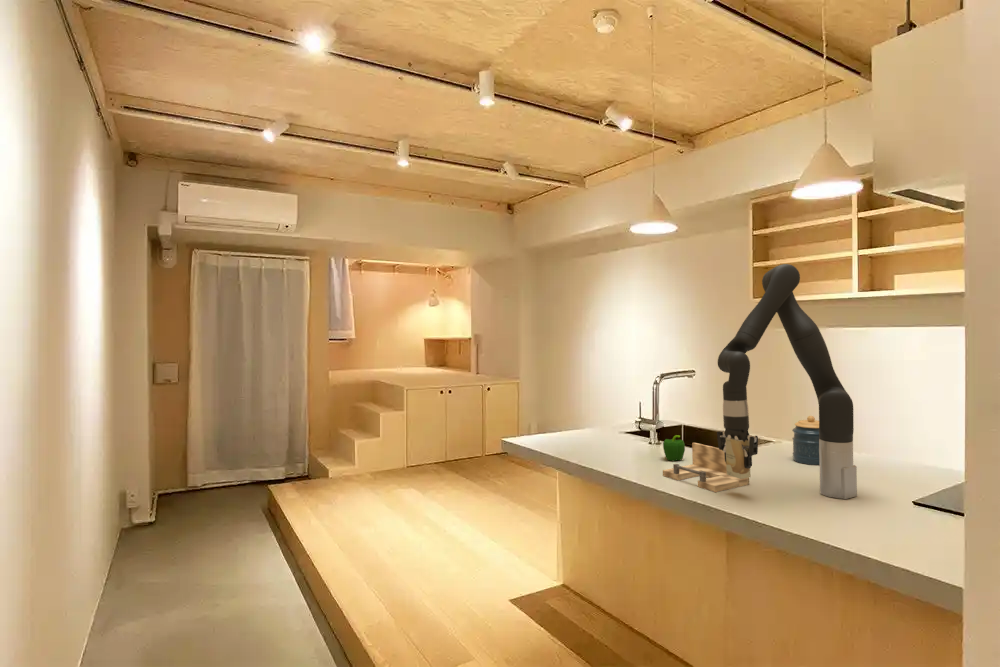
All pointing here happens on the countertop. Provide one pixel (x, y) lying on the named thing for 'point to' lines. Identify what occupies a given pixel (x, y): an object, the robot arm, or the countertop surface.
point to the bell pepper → (674, 448)
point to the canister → (806, 441)
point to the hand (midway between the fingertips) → (738, 465)
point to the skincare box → (736, 458)
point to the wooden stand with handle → (707, 469)
